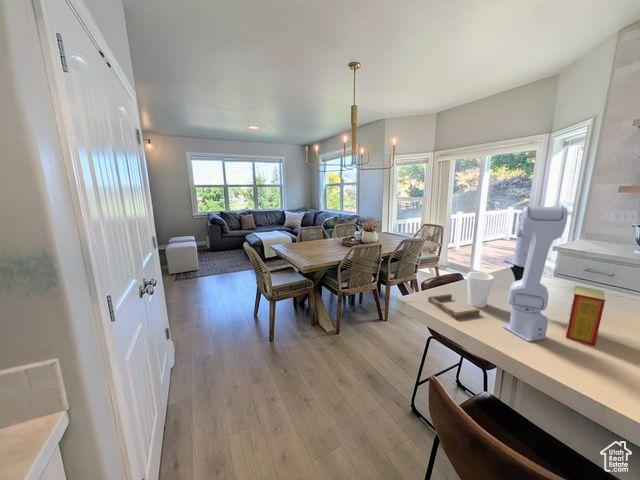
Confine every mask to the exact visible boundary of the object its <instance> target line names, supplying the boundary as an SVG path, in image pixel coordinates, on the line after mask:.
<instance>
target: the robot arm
mask: <svg viewBox="0 0 640 480" xmlns="http://www.w3.org/2000/svg"><path fill="white" fill-rule="evenodd" d="M568 214H569V213H568V209H567V207H565V206H528V205H526V206H524V207H523V208H522V211H521V216H520V220H519V221H518V222H517V224H516V228H515V234H516V235H515V236H516V241H515V249H514V256H513V258H509V257H504V258H503V259H502V260H503V261H502V262H503V264H504V263H505V264H508V265H509V264H510V265H512V266H510V270H511V271H512V274H513V277H514V281H512V283H511V284H510V287H509V289H508V294H507V302H508V303H509V305H511V309H510V311H511V312H510V318H509V323H508V324H504V325H502V328H504V329H505V330H507V331H509V332H511V333H513V334H514V335H516V336H518V337H520V338H522V339H523V340H525V341H527V342H532V341H534V342H535V341H538V340H543V339H547V338H548V337H547V335H546V334H547V330H548V325H549V319H548V317H547V316H546V315H545V314H542V313H541V312H542V311H545V310H547V307H548V302H549V301H548V300H549V290H548V288H547V286H545V285H544V284H543V283H541V280H542V277H543V273H544V269H545V266H546V262H547V258H548V255H549V253H550V249H551V246H552V244H553V242H554V240H558V239H561V238H562V237H563V234H564V232H565V229H566V227H567V226H566V225H567V223H568V222H567V221H568Z"/></svg>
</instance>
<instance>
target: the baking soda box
mask: <svg viewBox="0 0 640 480" xmlns="http://www.w3.org/2000/svg"><path fill="white" fill-rule="evenodd" d="M605 302H606V297H605V292H604V290H600V289H595V288H590V287H585V286H579V285H575V286H574V291H573V296H572V301H571V307H570V310H569V316H568V321H567V327H566V333H565V335H566V336H565V339H569V340H572V341H575V342H579V343H583V344H585V345H589V346H593V347H595V346H596V341H597V339H598V333H599V328H600V325H601V320H602V316H603V311H604V308H605V307H604V306H605V304H606V303H605Z"/></svg>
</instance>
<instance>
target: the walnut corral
mask: <svg viewBox="0 0 640 480" xmlns="http://www.w3.org/2000/svg"><path fill="white" fill-rule="evenodd" d="M427 298H428V302H429V303H430V304H431V305H433V306H435V307H436V308H438V309H439V310H441V311H442V312H443V313H445V314H447V315H448V316H450V317H451V318H452V319H454V320H459V319H465V318H471V317H477V316H480V313H481V312H480V311H481V310H479V309H470V310H463V311H457V312H456V311H454V310H453V309H451V308H449V306H446V305H445V304H443V303H442V302H441V301H448V300H453V299H452V298H453V295H452V294H451V293H449V294H442V295H441V294H440V295H433V296H428V297H427Z"/></svg>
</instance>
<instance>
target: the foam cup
mask: <svg viewBox="0 0 640 480" xmlns="http://www.w3.org/2000/svg"><path fill="white" fill-rule="evenodd" d="M466 281H467V302H468V304H469V305H470V306H471V307H475V308H485V307H486V306H487V303H488V299H489V296H490V293H491V289H492V285H493V283H494V276H493V275H491V274H489V273H487V272H486V273H485V272H480V271H470V272H467V273H466Z"/></svg>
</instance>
